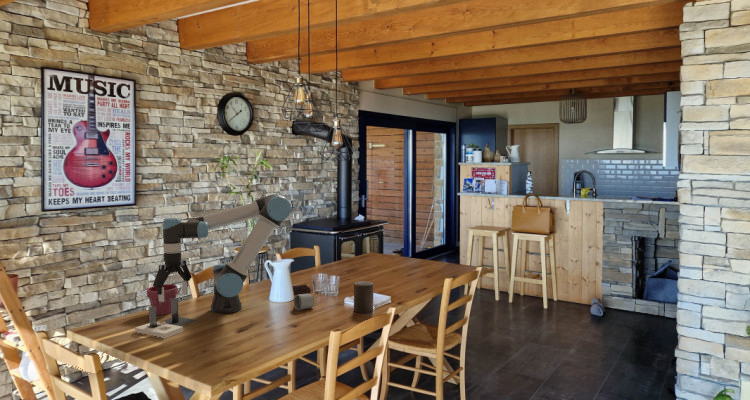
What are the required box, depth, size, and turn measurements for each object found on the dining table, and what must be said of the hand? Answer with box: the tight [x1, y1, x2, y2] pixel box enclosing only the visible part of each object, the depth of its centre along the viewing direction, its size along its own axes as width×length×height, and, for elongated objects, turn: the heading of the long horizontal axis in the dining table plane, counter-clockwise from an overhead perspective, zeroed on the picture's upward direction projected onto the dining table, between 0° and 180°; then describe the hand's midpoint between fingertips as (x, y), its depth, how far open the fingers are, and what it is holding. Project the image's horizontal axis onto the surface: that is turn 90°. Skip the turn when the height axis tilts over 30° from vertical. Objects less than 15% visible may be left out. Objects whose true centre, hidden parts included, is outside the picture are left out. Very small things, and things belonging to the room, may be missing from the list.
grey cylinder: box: [293, 293, 315, 311], centre depth 266 cm, size 11×8×8 cm
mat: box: [163, 316, 198, 327], centre depth 243 cm, size 14×14×1 cm
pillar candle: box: [353, 280, 374, 314], centre depth 260 cm, size 10×10×15 cm
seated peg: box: [148, 305, 158, 328], centre depth 231 cm, size 3×3×11 cm
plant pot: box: [146, 283, 179, 316], centre depth 259 cm, size 14×14×13 cm
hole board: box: [134, 321, 184, 340], centre depth 229 cm, size 10×18×2 cm, turn 63°
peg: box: [170, 297, 180, 323], centre depth 243 cm, size 3×3×11 cm
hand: (173, 297), depth 242 cm, fingers open, 13 cm apart
